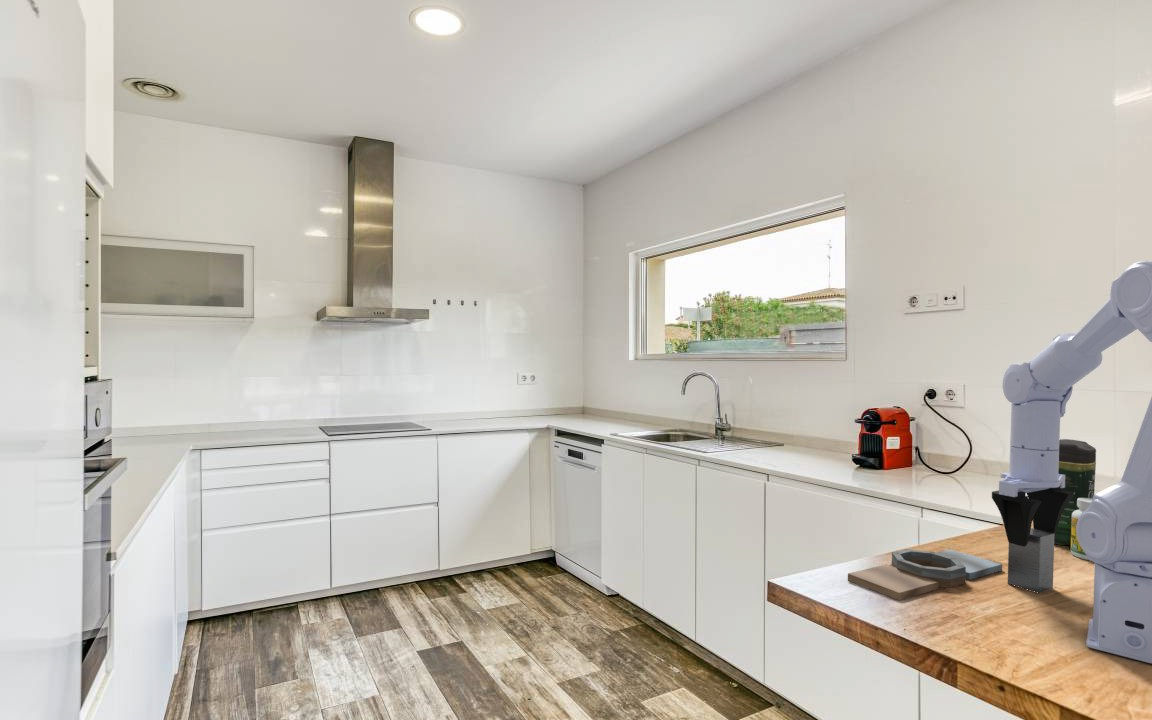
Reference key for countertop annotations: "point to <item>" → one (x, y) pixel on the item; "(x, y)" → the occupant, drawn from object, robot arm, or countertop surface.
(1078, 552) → the supplement bottle
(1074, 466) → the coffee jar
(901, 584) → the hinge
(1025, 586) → the grey metal brick
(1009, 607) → the countertop surface
